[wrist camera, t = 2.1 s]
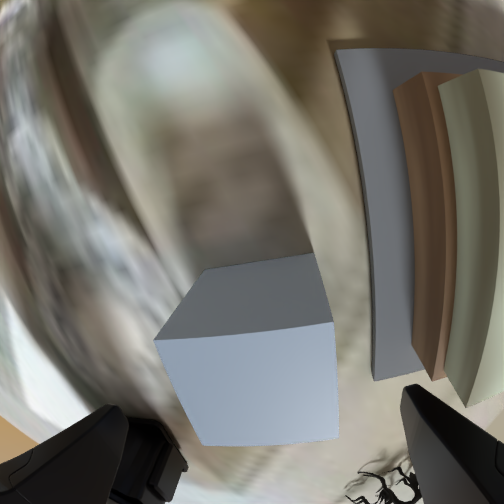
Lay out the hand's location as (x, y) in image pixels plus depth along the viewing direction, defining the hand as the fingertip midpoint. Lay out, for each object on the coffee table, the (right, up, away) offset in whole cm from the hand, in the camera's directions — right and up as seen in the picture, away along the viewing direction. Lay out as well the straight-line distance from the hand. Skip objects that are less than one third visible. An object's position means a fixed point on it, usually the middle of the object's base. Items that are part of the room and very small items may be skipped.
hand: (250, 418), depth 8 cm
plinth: (+13, +7, +3) cm, 15 cm away
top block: (+1, +2, +6) cm, 7 cm away
